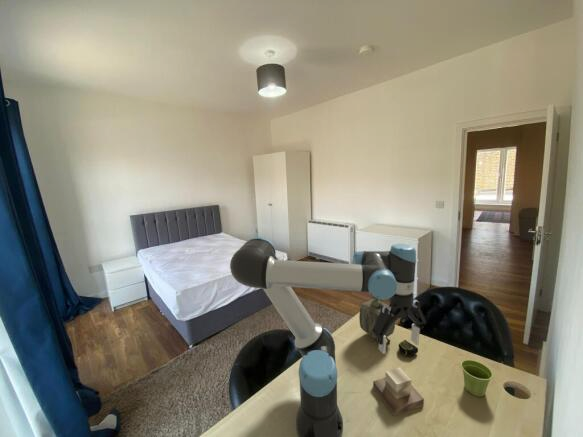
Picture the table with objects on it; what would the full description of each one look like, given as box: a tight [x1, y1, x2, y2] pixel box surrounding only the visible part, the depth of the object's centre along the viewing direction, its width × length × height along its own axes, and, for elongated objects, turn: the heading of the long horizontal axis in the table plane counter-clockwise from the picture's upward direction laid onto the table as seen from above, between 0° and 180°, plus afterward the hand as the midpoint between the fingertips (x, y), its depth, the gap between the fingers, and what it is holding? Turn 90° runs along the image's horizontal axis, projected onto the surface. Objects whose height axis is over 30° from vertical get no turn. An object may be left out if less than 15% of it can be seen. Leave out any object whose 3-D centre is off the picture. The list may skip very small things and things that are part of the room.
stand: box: [372, 376, 425, 417], centre depth 91 cm, size 12×12×2 cm
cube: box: [385, 367, 412, 399], centre depth 90 cm, size 6×6×6 cm
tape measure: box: [398, 339, 419, 357], centre depth 111 cm, size 7×7×4 cm
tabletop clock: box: [358, 293, 396, 344], centre depth 119 cm, size 14×9×25 cm, turn 34°
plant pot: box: [460, 359, 494, 397], centre depth 91 cm, size 9×9×9 cm
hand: (398, 346), depth 87 cm, fingers open, 13 cm apart
